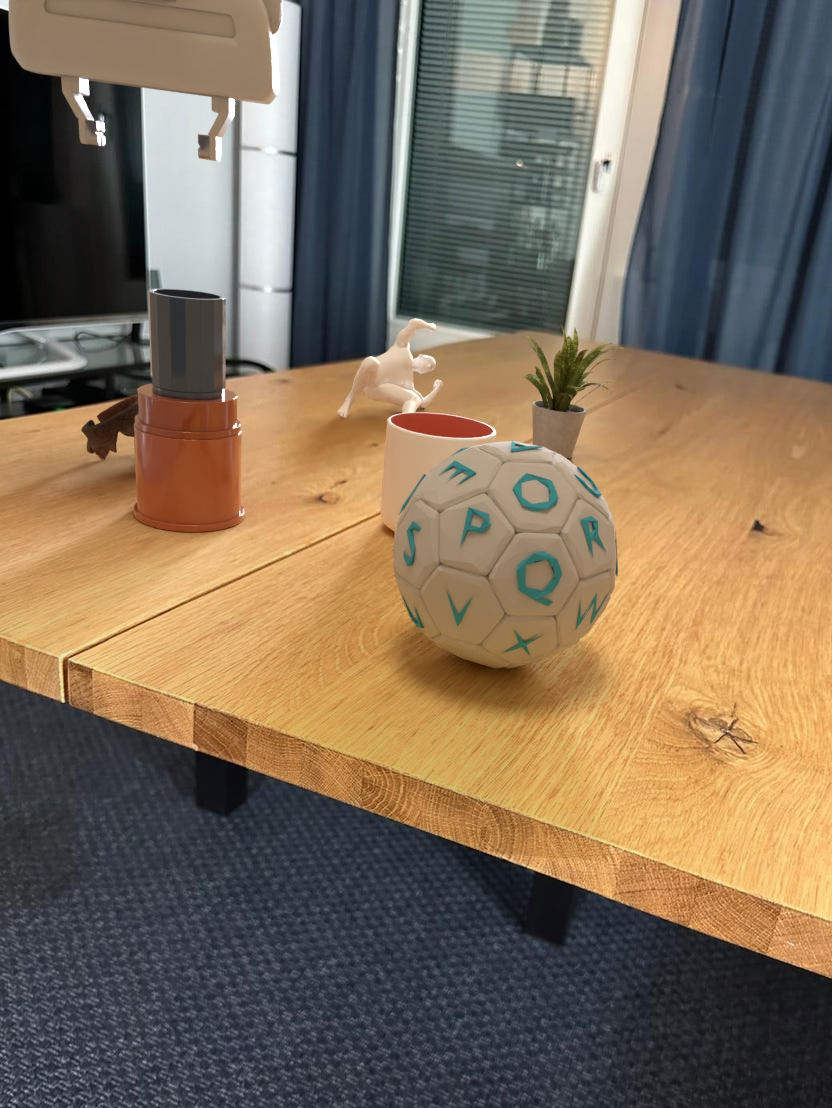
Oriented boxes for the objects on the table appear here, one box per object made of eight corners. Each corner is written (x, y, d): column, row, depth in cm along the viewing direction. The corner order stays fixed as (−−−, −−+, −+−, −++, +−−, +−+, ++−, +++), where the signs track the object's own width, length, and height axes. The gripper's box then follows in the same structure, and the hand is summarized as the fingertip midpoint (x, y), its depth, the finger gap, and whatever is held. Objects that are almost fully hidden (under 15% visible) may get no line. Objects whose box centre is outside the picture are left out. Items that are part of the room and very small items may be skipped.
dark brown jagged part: (173, 490, 91) (124, 416, 87) (103, 513, 95) (53, 443, 91) (225, 436, 100) (183, 366, 96) (159, 459, 104) (116, 393, 100)
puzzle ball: (344, 663, 61) (358, 440, 55) (442, 594, 74) (463, 406, 68) (557, 732, 56) (600, 496, 50) (623, 646, 69) (664, 448, 63)
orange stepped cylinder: (118, 525, 79) (112, 396, 75) (151, 493, 88) (147, 376, 84) (231, 537, 80) (231, 409, 76) (253, 504, 89) (255, 388, 84)
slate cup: (142, 394, 77) (138, 292, 73) (163, 382, 82) (160, 286, 79) (215, 403, 77) (215, 302, 74) (231, 389, 82) (232, 295, 79)
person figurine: (418, 347, 120) (434, 309, 135) (323, 356, 121) (349, 317, 136) (433, 442, 127) (446, 395, 142) (343, 449, 129) (366, 402, 144)
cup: (461, 555, 83) (473, 445, 79) (360, 531, 85) (368, 423, 81) (497, 527, 91) (510, 426, 87) (405, 505, 94) (414, 407, 90)
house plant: (632, 473, 118) (657, 340, 111) (532, 471, 113) (553, 331, 106) (583, 444, 130) (603, 322, 123) (491, 440, 125) (507, 314, 118)
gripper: (289, -23, 74) (285, 170, 80) (26, -61, 72) (41, 138, 78) (275, -42, 68) (272, 167, 74) (-11, -84, 67) (8, 133, 73)
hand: (151, 152), depth 76 cm, fingers open, 8 cm apart
